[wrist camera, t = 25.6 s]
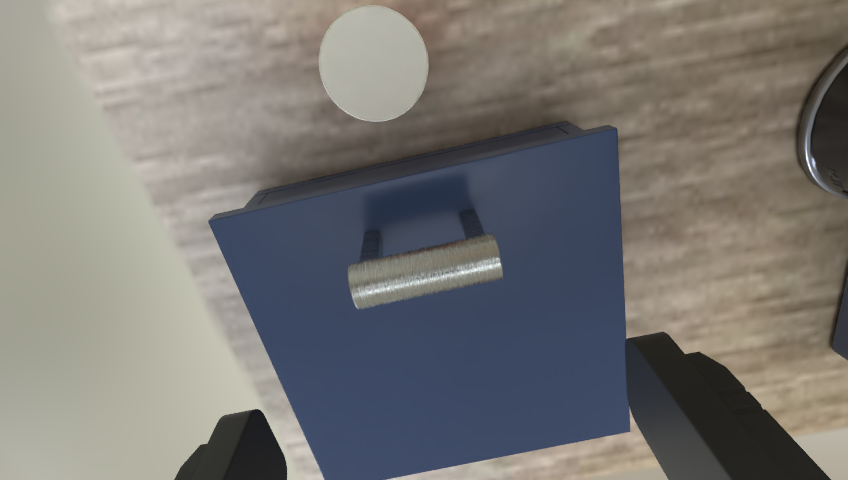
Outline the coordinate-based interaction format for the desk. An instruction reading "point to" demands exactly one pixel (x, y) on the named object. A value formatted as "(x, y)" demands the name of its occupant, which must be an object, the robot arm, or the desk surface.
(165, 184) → the desk surface
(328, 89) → the glue stick
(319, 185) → the pencil box
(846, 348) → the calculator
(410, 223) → the lid
